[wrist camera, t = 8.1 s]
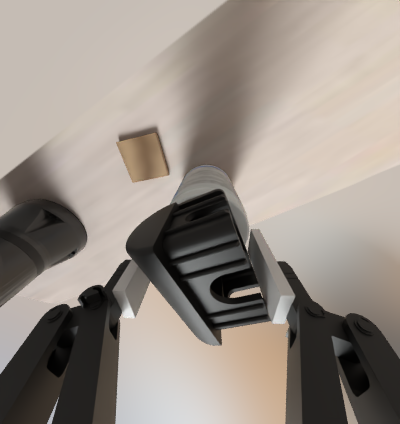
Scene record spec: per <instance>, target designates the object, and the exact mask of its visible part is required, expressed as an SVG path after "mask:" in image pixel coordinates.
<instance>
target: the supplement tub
mask: <svg viewBox="0 0 400 424" xmlns="http://www.w3.org/2000/svg"><path fill="white" fill-rule="evenodd" d="M215 189H222V190H223V191H224V192H225V195H226V197H227V200H228V202H229V205H230V208H231V210H232V213H233V216H234V218H235V221H236V223H237V226H238V229H239V231H240V234H241V237H242V239H243V242H244V244H246V241H247V239H248V235H249V224H248V220H247V215H246V212H245V210H244V207H243V205H242V203H241V201H240V199H239V197H238V195H237V193H236V191H235V189H234V187H233V185H232V183H231V181H230V179H229V177H228V176H227V174H226V173H225V172H224V171H223V170H221V169H220V168H218V167H216V166H213V165H201V166H198V167H195V168H193V169H192V170H191V171H189V172H188V173H187V174H186V176H185V177H184V179H183V181H182V183H181V185H180V186H179V188H178V190H177V192H176V194H175V196H174V198H173V199H172V201H171V203H170V204H173V203H175V202H176V203H177V204H180V203H182V202H184V201H187V200H189V199H192V198H194V197H197V196H200V195H202V194H205V193H207V192H210V191H212V190H215Z"/></svg>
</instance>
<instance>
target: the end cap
mask: <svg viewBox="0 0 400 424" xmlns="http://www.w3.org/2000/svg"><path fill="white" fill-rule="evenodd" d="M126 251H127V253H128V254H129V256H130V257H131V258H132V259H133V260H134V262H135V263H136V264H137V265H138V266H139V268H140V269H141V270H142V271H143V273H144V274H145V275H146V276H147V277H148V279H149V280H150V281H151V282H152V284H153V285H154V286H155V287H156V288H157V289H158V291H159V292H160V293H161V294H162V296H163V297H164V298H165V299H166V300H167V302H168V303H169V304H170V305H171V306H172V308H173V309H174V310H175V311H176V313H177V314H178V315H179V316H180V317H181V319H182V320H183V321H184V322H185V324H186V325H187V326H188V327H189V329H190V330H191V331H192V332H193V333H194V335H195V336H196V337H197V338H198V339H200V340H201V341H203V342H204V343H206V344H209V345H213V346H215V345H222V339H221V329H227V328H233V327H239V326H244V325H250V324H256V323H262V322H268V321H271V319H270V316H269V313H268V310H267V307H266V304H265V301H264V298H262V296H261V293H256V294H252V295H247V296H242V297H237V298H229V297H230V295H231V294H232V293H234V292H237V291H241V290H245V289H250V288H255V287H259V283H258V281H257V278H256V275H255V272H254V269H253V266H252V264H251V260H250V258H249V255H248V252H247V250H246V247H245V244H244V242H243V239H242V237H241V234H240V231H239V229H238V226H237V223H236V221H235V218H234V216H233V213H232V210H231V208H230V205H229V202H228V200H227V197H226V195H225V192H224V191H223V190H222V189H215V190H212V191H210V192H207V193H205V194H202V195H200V196H197V197H194V198H192V199H189V200H187V201H184V202H182V203H180V204H177V203H176V202H175V203H173V204H170V205H168V206H166V207H164V208H162V209H161V210H159V211H157V212H156V213H154V214H152V215H151V216H150V217H148V218H147V219H146V220H144V221H143V222H142V223H141V224H140V225H139V226H137V227H136V229H135V230H134V231H133V232H132V233H131V235H130V236H129V238H128V240H127V242H126Z"/></svg>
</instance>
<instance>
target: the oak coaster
mask: <svg viewBox="0 0 400 424" xmlns="http://www.w3.org/2000/svg"><path fill="white" fill-rule="evenodd" d="M116 144H117V146H118V148H119V151H120V153H121V156H122V158H123V160H124V163H125V165H126V168H127V170H128V172H129V175H130V177H131V180H132V182H133V183H134V182H139V181H144V180H148V179H153V178H158V177H163V176H168V175H169V171H168V168H167V164H166V161H165V158H164V154H163V151H162V148H161V144H160V141H159V138H158V134H157V133H152V134H148V135H144V136H140V137H136V138H132V139H128V140H124V141H120V142H116Z"/></svg>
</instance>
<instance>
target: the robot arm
mask: <svg viewBox="0 0 400 424" xmlns="http://www.w3.org/2000/svg"><path fill="white" fill-rule="evenodd" d="M86 242H87V236H86V232H85V230H84V227H83V226H82V224H81V223H80V221H79V220H78V219H77V218H76V217H75V216H74V215H73V214H72V213H71V212H69V211H68V210H67V209H65V208H64V207H62V206H60V205H58V204H56V203H53V202H51V201H47V200H41V199H34V200H29V201H27V202H24V203H21V204H18V205H16V206H14V207H13V208H12V209H10V210H9V211H8V212H6V213H5V214H4V215H3V216H1V217H0V307H1V306H2V305H4V304H5V303H6V302H7V301H8V300H10V299H11V298H12V297H13V296H14V295H16V294H17V293H18V292H19V291H20V290H22V289H23V288H24V287H25V286H26V285H28V284H29V283H30V282H31V281H32V280H34V279H35V278H36V277H37V276H38V275H40V274H41V273H42V272H44V271H45V270H47V269H49V268H51V267H53V266H55V265H57V264H59V263H62V262H64V261H66V260H68V259H70V258H72V257H74V256H75V255H77V254H78V253H79V252H80V251H81V250H82V249H83V248H84V247H85V245H86ZM248 254H249V257H250V260H251V263H252V266H253V269H254V272H255V275H256V277H257V280H258V283H259V286H260V289H261V292H262V295H263V298H264V301H265V304H266V307H267V310H268V313H269V316H270V319H271V322H272V323H275V324H284V323H285V321H286V319H287V321H288V323H289V325H290V326H289V328H288V331H287V333H286V337H287V338H288V357H287V390H286V424H348V421H347V416H346V411H345V405H344V400H343V394H342V389H341V384H340V378H339V375H340V377H341V380H342V382H343V385H344V388H345V390H346V393H347V395H348V398H349V401H350V403H351V406H352V408H353V411H354V413H355V416H356V419H357V421H358V424H400V359H399V358H398V356H397V354H396V353H395V352H394V350H393V349H392V347H391V346H390V344H389V343H388V341H387V340H386V338H385V337H384V335H383V334H382V333H381V331H380V330H379V329H378V328H377V327H376V325H374V324H373V323H372V322H371V321H370V320H368V319H367V318H365V317H363V316H361V315H358V314H354V313H350V314H348V315H347V316H346V317H342V316H339V315H336V314H333V313H330V312H327V311H325V310H324V309H323V308H322V307H321V306H320V305H319V304H318V303H316V302H314V301H312V299H311V298H310V296H309V295H308V293H307V291H306V290H305V288H304V287H303V285H302V283H301V282H300V280H299V279H298V277H297V276H296V274H295V273H294V271H293V269H292V268H291V267H290V266H289V265H288V264H287V263H286V262H281V261H279V262H277V261H276V259H275V257H274V256H273V254H272V252H271V250H270V248H269V246H268V244H267V243H266V241H265V239H264V237H263V235H262V233H261V232H260V230H259V229H251V232H250V240H249V247H248ZM149 283H150V280H149V279H148V277H147V276H146V275H145V274H144V273H143V271H142V270H141V269H140V268H139V266H138V265H137V264H136V263H135V262H134V260H133V259H132V260H125V261H124V262H123V263H121V264H120V265H119V267H118V268H117V270H116V271H115V273H114V274H113V276H112V277H111V278H110V280H109V281H108V283H107V284H106V286H105V287H103V286H101V285H95V286H92V287H90V288H88V289H86V290H85V291H84V292H83V293H82V294H81V295H80V296H79V298H78V301H79V303H80V304H81V306H77V307H74V308H70V307H69V306H68V305H67V304H61V305H58V306H56V307H54V308H52V309H50V310H49V311H48V312H47V313H46V314H45V315H44V316H43V317H42V318H41V319H40V321H39V322H38V324H37V325H36V326H35V328H34V329H33V330H32V332H31V333H30V334H29V336H28V337H27V339H26V340H25V341H24V343H23V344H22V345H21V347H20V348H19V350H18V351H17V352H16V354H15V355H14V357H13V358H12V359H11V361H10V362H9V363H8V365H7V366H6V367H5V369H4V370H3V372H2V373H1V374H0V424H47V422H48V420H49V418H50V415H51V413H52V411H53V409H54V406H55V404H56V402H57V399H58V397H59V399H58V403H57V406H56V410H55V414H54V417H53V421H52V424H115V418H116V417H115V416H116V398H117V397H116V396H117V377H118V376H117V375H118V357H119V337H120V336H119V335H120V320H119V318H120V316H121V314H123V316H124V317H125V318H135V317H136V315H137V313H138V310H139V308H140V305H141V303H142V300H143V298H144V295H145V293H146V290H147V288H148V285H149ZM338 372H339V373H338Z"/></svg>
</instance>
